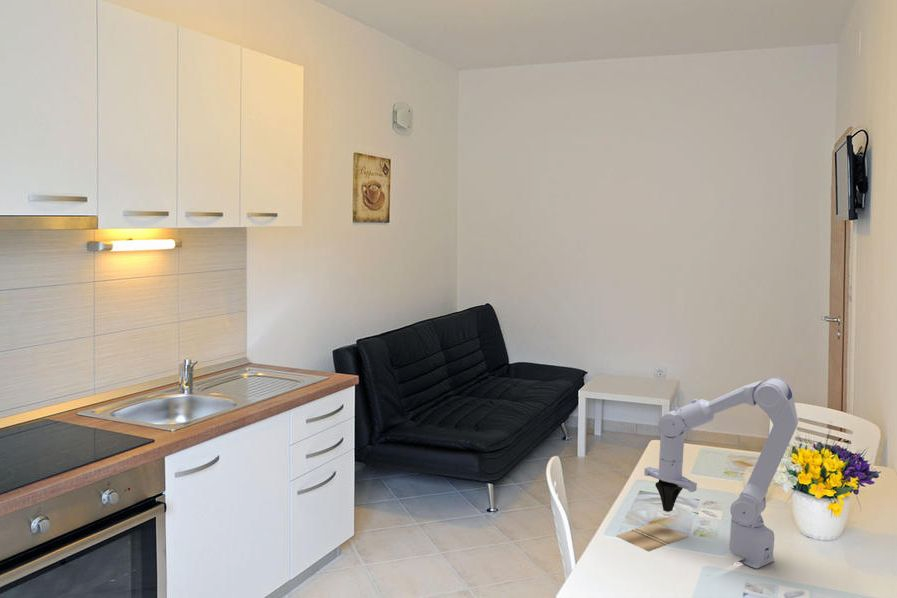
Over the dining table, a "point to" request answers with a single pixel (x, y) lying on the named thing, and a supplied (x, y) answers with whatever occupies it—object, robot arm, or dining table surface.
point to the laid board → (641, 540)
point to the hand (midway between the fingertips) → (667, 510)
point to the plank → (661, 533)
